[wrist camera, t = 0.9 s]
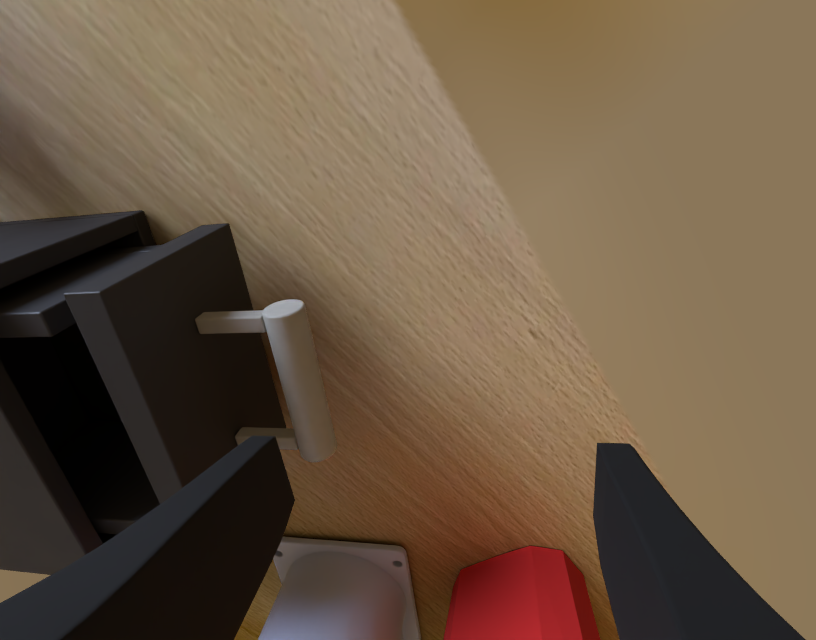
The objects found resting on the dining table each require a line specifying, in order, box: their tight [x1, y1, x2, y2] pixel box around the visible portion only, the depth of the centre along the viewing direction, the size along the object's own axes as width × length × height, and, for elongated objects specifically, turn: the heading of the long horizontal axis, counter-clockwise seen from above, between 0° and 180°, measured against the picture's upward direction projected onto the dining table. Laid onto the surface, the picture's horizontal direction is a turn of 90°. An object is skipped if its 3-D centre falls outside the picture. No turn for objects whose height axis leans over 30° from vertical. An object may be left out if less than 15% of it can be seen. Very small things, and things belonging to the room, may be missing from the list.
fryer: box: [0, 211, 156, 575], centre depth 20 cm, size 11×11×8 cm
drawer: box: [0, 223, 337, 534], centre depth 18 cm, size 14×10×7 cm
